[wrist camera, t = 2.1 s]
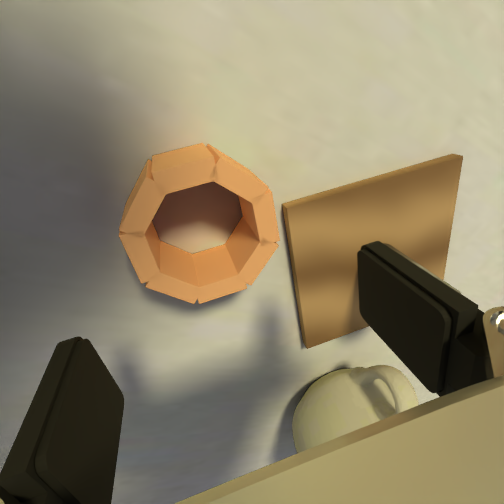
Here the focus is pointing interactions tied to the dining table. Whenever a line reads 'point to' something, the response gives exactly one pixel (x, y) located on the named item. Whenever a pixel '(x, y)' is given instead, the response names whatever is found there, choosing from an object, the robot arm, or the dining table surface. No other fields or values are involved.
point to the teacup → (349, 403)
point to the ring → (208, 261)
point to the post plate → (366, 238)
